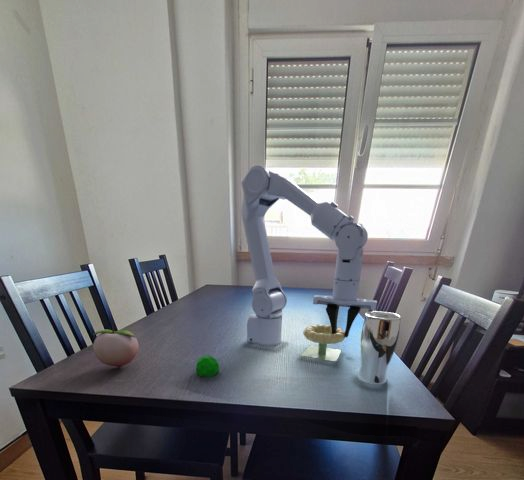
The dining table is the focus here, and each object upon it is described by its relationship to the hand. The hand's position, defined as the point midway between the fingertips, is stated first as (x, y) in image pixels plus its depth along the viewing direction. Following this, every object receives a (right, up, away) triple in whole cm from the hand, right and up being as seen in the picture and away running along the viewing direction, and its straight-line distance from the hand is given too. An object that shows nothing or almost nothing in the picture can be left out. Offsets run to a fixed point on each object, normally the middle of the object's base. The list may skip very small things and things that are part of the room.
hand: (339, 335), depth 70 cm
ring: (-4, 0, +2) cm, 4 cm away
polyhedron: (-31, -10, -8) cm, 34 cm away
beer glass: (+4, -11, -9) cm, 15 cm away
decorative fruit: (-53, -8, -5) cm, 53 cm away
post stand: (-4, -6, +4) cm, 8 cm away
